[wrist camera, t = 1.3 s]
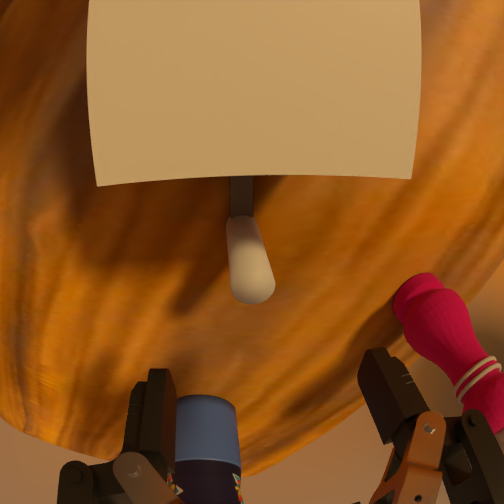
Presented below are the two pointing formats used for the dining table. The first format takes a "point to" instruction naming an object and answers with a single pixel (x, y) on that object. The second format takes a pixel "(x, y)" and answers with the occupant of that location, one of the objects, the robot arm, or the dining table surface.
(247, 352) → the dining table surface
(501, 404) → the pepper mill
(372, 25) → the shelf
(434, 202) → the dining table surface
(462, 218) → the dining table surface
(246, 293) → the grey block with handle
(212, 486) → the water bottle
